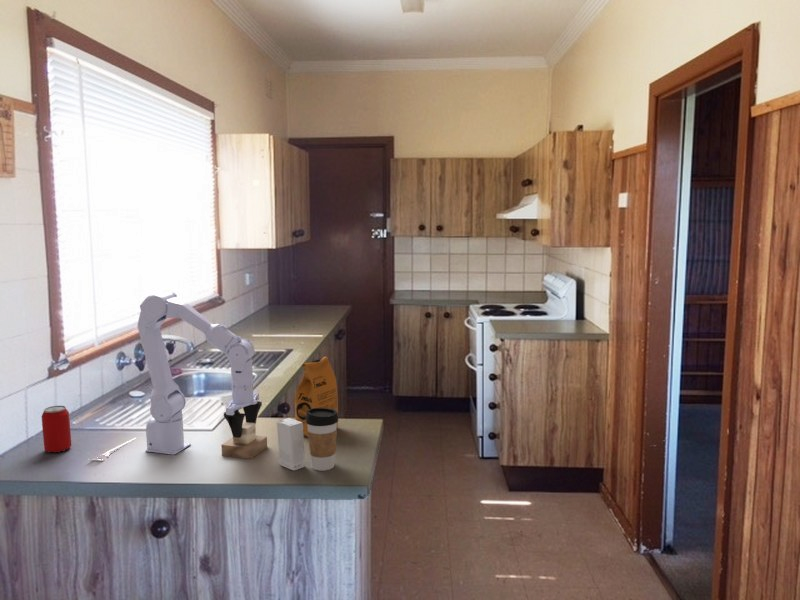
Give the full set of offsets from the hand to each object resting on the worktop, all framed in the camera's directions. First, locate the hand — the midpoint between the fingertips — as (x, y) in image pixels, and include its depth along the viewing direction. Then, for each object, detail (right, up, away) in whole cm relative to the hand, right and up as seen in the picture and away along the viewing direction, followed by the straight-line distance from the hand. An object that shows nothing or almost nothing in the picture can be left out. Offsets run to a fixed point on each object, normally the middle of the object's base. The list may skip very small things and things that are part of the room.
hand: (244, 432), depth 178 cm
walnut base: (0, -5, +1) cm, 5 cm away
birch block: (0, -2, 0) cm, 2 cm away
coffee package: (+18, -3, +16) cm, 25 cm away
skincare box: (+15, -7, -9) cm, 19 cm away
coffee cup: (+23, -7, -10) cm, 26 cm away
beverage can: (-53, -6, +2) cm, 53 cm away
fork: (-36, -6, +2) cm, 37 cm away
